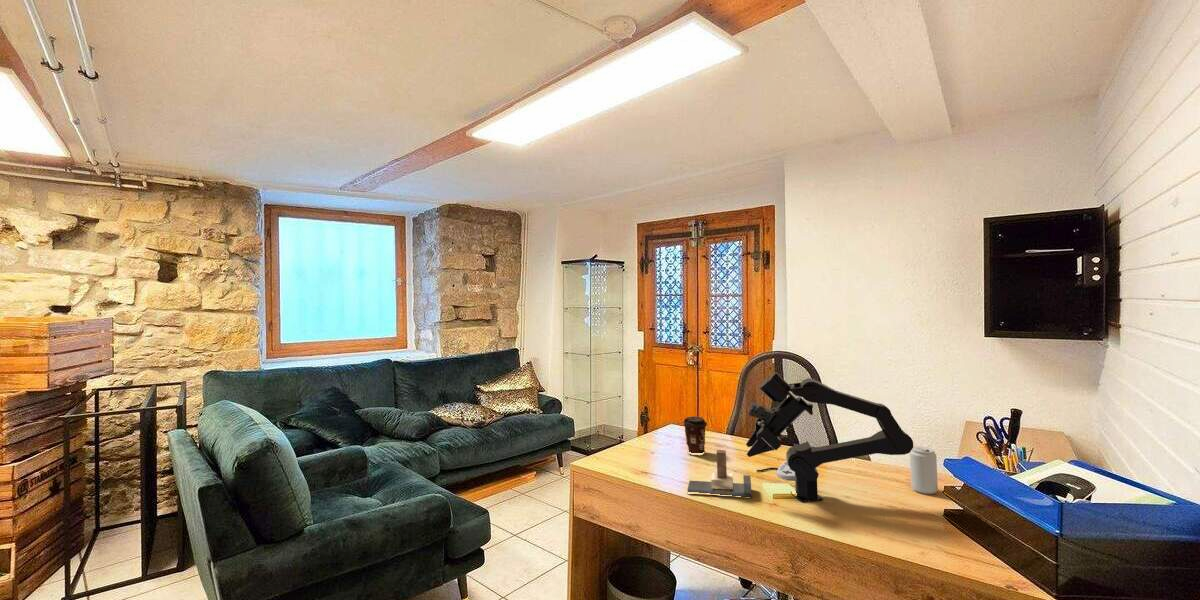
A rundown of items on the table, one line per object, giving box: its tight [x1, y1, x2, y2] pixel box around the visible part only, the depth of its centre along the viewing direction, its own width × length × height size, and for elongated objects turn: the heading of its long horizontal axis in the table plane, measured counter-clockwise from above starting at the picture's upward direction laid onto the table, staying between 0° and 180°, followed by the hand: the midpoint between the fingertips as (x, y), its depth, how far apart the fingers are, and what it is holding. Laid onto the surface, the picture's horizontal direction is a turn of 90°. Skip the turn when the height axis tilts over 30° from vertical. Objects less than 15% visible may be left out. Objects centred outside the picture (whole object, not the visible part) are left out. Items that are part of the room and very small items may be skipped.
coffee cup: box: [683, 415, 708, 453], centre depth 183 cm, size 9×8×13 cm
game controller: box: [756, 460, 795, 481], centre depth 162 cm, size 15×13×2 cm
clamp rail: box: [687, 474, 753, 499], centre depth 147 cm, size 18×7×4 cm, turn 75°
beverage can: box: [909, 446, 939, 495], centre depth 142 cm, size 6×6×12 cm
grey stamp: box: [710, 449, 734, 490], centre depth 147 cm, size 6×6×10 cm
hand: (747, 450), depth 145 cm, fingers open, 9 cm apart
